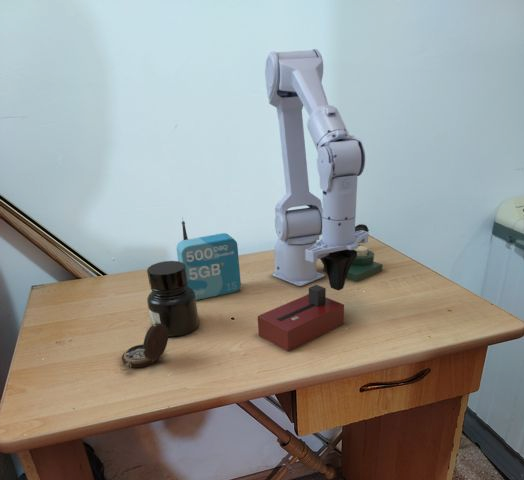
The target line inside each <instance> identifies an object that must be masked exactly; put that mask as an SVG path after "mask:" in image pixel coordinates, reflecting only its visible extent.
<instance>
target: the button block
mask: <svg viewBox="0 0 524 480" xmlns="http://www.w3.org/2000/svg"><path fill="white" fill-rule="evenodd" d="M323 271H324V272H326V269H325V267H324V266H323ZM382 271H383V263H381V262H377V261H375V253H374V252H373V251H372V250H369V249H368V253H367V256H363V257H358V256H357V257H356V258H355V260H354V261H353V263H352V265H351V267H350V269H349V272H348V274H347V277H346V280H349V281H352V282H355V283H358V282H360V281H362V280H365V279H367V278H369V277H372V276H374V275H376V274H378V273H381V272H382Z"/></svg>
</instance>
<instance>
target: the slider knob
mask: <svg viewBox="0 0 524 480" xmlns="http://www.w3.org/2000/svg"><path fill="white" fill-rule="evenodd" d="M326 292H327V288H326V287H324V286H321V285H320V284H319V285H318V284H314V285H312V286H309V287H308V294H309V303H311V304H313V305H316V306H320V305H322V304H325V303H326V298H327V297H326V295H327V293H326Z"/></svg>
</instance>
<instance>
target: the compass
mask: <svg viewBox="0 0 524 480" xmlns="http://www.w3.org/2000/svg"><path fill="white" fill-rule="evenodd" d="M168 340H169V336H168V331H167V328H166V326H165V325H163V324H160V323H155V324H152V323H151V325H150V327H149V328H148V330H147V331H146V334H145V336H144V339H143V344H136V345H134V346H131V347H130V348H128V349H126V351H125V352H123V354H122V355H121V360H122V363H123V364H121V365H120V366H119V369H120V370H122V371H127V370H130V369H131V368H143V367H147V366H149V365H151V364H153V363H154V362H156V361H157V360H158V359H159V358H161V356H162V355H163V354H164V352H165V350H166V348H167V345H168ZM123 366H126V367H128V368H122V367H123Z"/></svg>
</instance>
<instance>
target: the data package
mask: <svg viewBox="0 0 524 480" xmlns="http://www.w3.org/2000/svg"><path fill="white" fill-rule="evenodd" d="M176 255H177V261H179V262H182V263H184V264H185V267H186V274H187V282H188V284H187V286H188V287H190V288H191V289H192V290H193V291H194V293H195V297H196V301H199V300H204V299H209V298H213V297H217V296H218V297H219V296H222V295H227V294H231V293H235V292H236V293H237V291H239V290H240V288H241V284H242V283H241V269H240V259H239V247H238V242H237V241H236V240H235V238H233V237H232V236H231V235H230V234H228V233H226V232H223V233H215V234H211V235H205V236H200V237H199V236H198V237H194V238H188V239H187V240H184V239H182V240H179V242H177V244H176Z"/></svg>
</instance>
